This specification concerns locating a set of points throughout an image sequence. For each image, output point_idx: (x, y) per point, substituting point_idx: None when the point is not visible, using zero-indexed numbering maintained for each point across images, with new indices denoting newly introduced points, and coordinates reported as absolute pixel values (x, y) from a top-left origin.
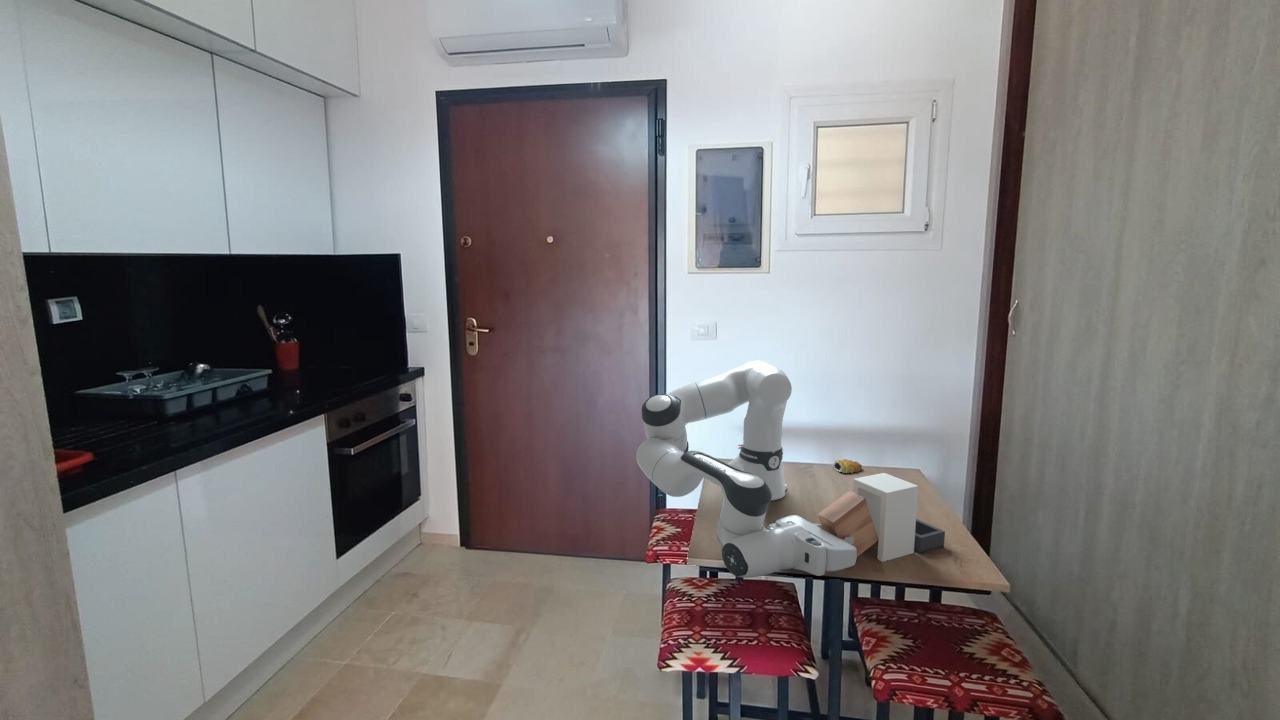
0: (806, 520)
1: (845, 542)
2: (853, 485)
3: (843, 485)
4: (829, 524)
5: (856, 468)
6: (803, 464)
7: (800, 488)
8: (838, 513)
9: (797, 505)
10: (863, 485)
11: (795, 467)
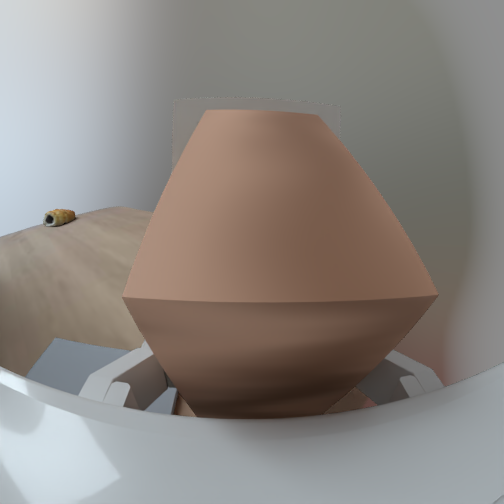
0: (33, 389)
1: (502, 372)
2: (175, 124)
3: (65, 235)
4: (329, 344)
5: (70, 215)
6: (11, 233)
7: (10, 259)
8: (335, 194)
9: (9, 290)
10: (227, 106)
11: (3, 239)
